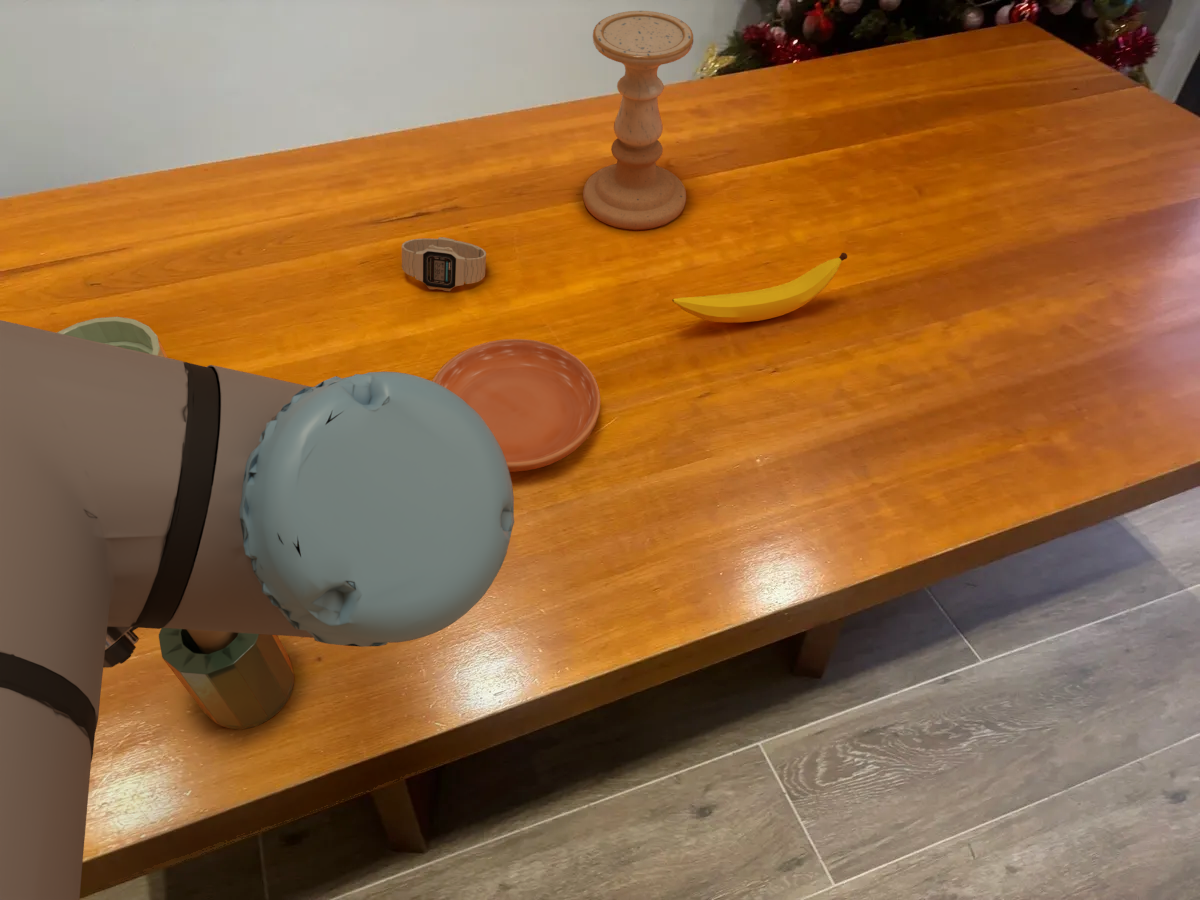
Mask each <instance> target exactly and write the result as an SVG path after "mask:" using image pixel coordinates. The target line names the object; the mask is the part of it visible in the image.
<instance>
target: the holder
mask: <svg viewBox="0 0 1200 900" xmlns="http://www.w3.org/2000/svg"><path fill="white" fill-rule="evenodd" d="M158 643H159V647H160V654H161V658H162V660H163V661H164V662H165V664H166V665H167V666H168V667H169V668H170V670H171V671H172V672H173V674H174V675H175V676H176V678H177V679H178V681H179V682H180V683H181V685H182V686H183V687H184V688H185V690H186V691H187V692H188V694H189V695H190V696H191V698H192V699H193V700H194V701H195V703H196V704H197V706H199V708H200V709H201V710H202V712H203V713H204V714H206V715H207V716H208V718H209V719H210V720H212V722H214V724H216V725H218V726H220V727H223V728H226V729H231V730H246V729H251V728H255V727H257V726H260V725H262V724H264V723H266V722H268V721H269V720H270V719H272V718H273V717H274V716H276V715H277V714H278V713H279V712H280V711H281V710H282V709H283V708H284V707H285V705H286V704H287V702H288V700H289V699H290V697H291V695H292V693H293V690H294V686H295V672H294V668H293V665H292V663H291V660H290V657H289V654H288V653H287V651H286V649H285V647H284V644H283V643H282V641H281V639H280V637H279V635H267V634H251V633H238V635H237V637H236V638H235V639H234V640H233V641H232V642H231V643H230V644H229V645H228V646H227V647H225V648H224V649H221V650H219V651H216V652H213V653H210V654H203V653H202V652H201V650H200V649H199V647H198V646H197V644H196V643H195V641H194V640H193V638H192V637H191V635H190V634H189V632H188V631H187V630H186V629H175V628H161V629H160V630H159V633H158Z"/></svg>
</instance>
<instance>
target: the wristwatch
mask: <svg viewBox="0 0 1200 900" xmlns="http://www.w3.org/2000/svg"><path fill="white" fill-rule="evenodd" d="M486 264H487V252H486V250H485V249H483V248H482V247H480V246H478V245H475V244H472V243H469V242H466V241H461V240H456V239H453V238H449V237H441V236H440V237H438V238H415V239H409V240H406V241H404V242H403V243H402V244H401V268H402V271H403V272H404V273H405V274H406V275H408V276H410V277H413V278H414V279H415V280H416V281H420V282H421V283H423V284H424V285H425V286H426V287H427V289H429V290H431V291H433V290H440V291H444V292H451V291H452V289H454V288H456V287H458V286H459V287H460V286H464V284H465V285H470V284H471V285H472V284H475V283H478V282H481V281H482V280H484V278H485V276H486V266H487V265H486Z"/></svg>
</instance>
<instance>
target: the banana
mask: <svg viewBox="0 0 1200 900" xmlns="http://www.w3.org/2000/svg"><path fill="white" fill-rule="evenodd" d="M847 258H848V254H847V253H846V252H841V253H840V256H839V257H836V258H831V259H829V260H826V261H824V262H822V263H819V264H818V265H816V266H815V267H812V268H811V269H810V270H808V271H807V272H804V274H802V275H800V276H798V277H797V278H795V279H792V280H790V281H788V282H785V283H781V284H778V285H775V286H771V287H767V288H763V289H755V290H750V291H742V292H734V293H724V294H711V295H701V296H689V297H688V296H683V297H677V298H673V299H671V300H672V303H674V304H675V305H676V306H678V308H679V309H681V310H682V311H685V312H686V313H688V314H690V315H692V316H693V317H697V318H699V319H701V320H704V321H709V322H715V323H751V322H759V321H765V320H769V319H770V320H771V319H774V318H777V317H781V316H784V315H787V314H790V313H791V312H794V311H797V310H798V309H799V308H801V307H803V306H805V305H806V304H808V303H810V302H811V301H812V300H814V299H815V298H816V297H817V296H818V295H819V294H820V293H821V292H822V291H824V289H825V288H826V287H827V286H828V285H829V284H830V282H831V281H832V280H833V278H834V277H835V276H836V274H837V273H838V270H839V269H840V266H841V264H842V262H843V261H844V260H847Z"/></svg>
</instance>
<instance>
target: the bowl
mask: <svg viewBox="0 0 1200 900" xmlns="http://www.w3.org/2000/svg"><path fill="white" fill-rule="evenodd" d="M56 333H60V334H64V335H68V336H73V337H77V338H82V339H86V340H91V341H95V342H99V343H104V344H108V345H113V346H117V347H122V348H126V349H130V350H135V351H139V352H144V353H148V354H153V355H157V356H161V357H166V358H169V357H168V356H167V353H166V351H165V349H164V347H163V345H162V343H161V341H160V339H159V336H158V335H157V334H156V332H154V330H153V329H152V328H151V327H150V326H149V325H148V324H145V323H143V322H141V321H139V320H137V319H134V318H128V317H122V316H108V317H107V316H105V317H95V318H92V319H88V320H84V321H80V322H77V323H75V324H72V325H69V326H68V327H66V328H63V329H61V330H59V331H57V332H56Z"/></svg>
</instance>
